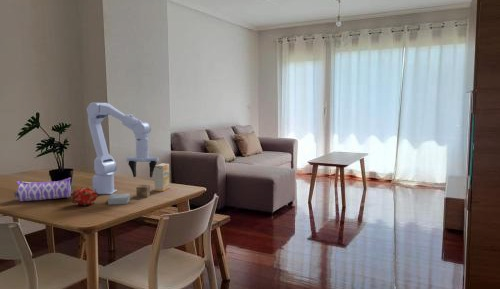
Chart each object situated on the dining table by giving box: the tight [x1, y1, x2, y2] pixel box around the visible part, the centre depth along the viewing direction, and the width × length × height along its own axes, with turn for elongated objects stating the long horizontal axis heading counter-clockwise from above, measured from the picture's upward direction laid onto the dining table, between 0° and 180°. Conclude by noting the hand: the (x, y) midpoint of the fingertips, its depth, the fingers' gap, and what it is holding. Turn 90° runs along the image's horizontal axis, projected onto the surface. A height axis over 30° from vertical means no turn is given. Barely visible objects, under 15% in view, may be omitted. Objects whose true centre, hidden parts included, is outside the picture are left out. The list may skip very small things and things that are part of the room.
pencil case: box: [14, 177, 72, 202], centre depth 168 cm, size 22×9×10 cm, turn 111°
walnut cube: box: [135, 184, 151, 199], centre depth 175 cm, size 5×5×5 cm
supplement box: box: [154, 163, 171, 192], centre depth 189 cm, size 8×5×13 cm, turn 169°
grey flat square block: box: [107, 193, 131, 205], centre depth 165 cm, size 8×8×3 cm
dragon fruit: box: [69, 186, 100, 207], centre depth 160 cm, size 8×8×12 cm
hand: (143, 176), depth 175 cm, fingers open, 7 cm apart
